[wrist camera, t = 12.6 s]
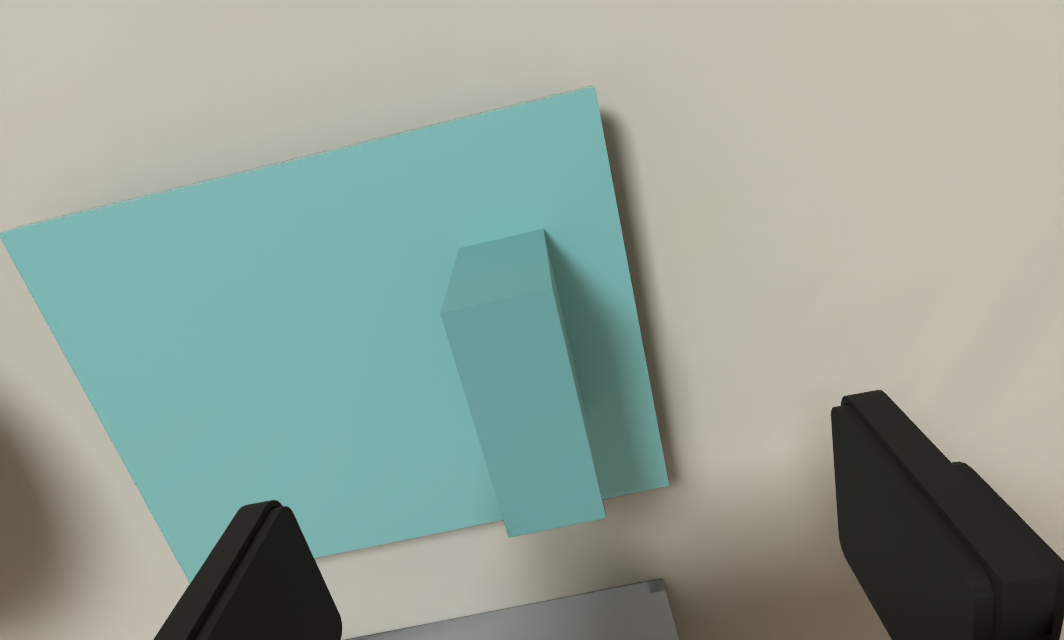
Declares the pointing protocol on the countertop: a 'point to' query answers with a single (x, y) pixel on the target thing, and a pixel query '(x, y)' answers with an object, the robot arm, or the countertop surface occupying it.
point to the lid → (367, 335)
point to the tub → (562, 619)
